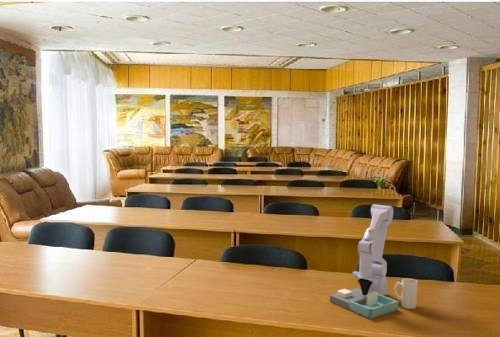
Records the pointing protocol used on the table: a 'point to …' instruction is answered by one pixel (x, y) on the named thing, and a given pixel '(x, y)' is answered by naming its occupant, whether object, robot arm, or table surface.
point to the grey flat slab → (349, 298)
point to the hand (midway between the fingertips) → (365, 294)
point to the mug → (407, 292)
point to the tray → (375, 307)
